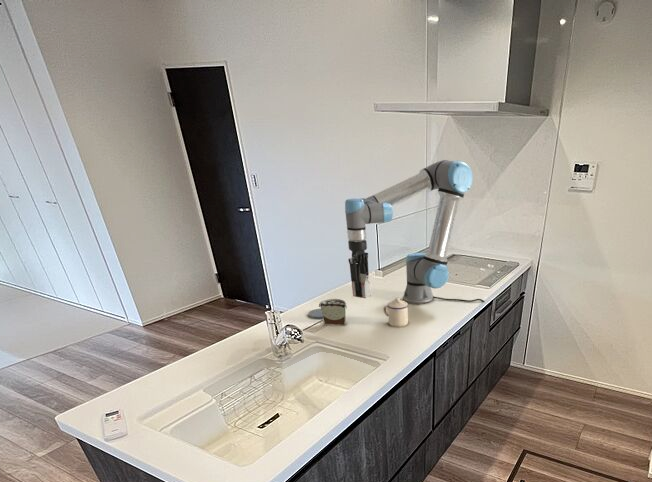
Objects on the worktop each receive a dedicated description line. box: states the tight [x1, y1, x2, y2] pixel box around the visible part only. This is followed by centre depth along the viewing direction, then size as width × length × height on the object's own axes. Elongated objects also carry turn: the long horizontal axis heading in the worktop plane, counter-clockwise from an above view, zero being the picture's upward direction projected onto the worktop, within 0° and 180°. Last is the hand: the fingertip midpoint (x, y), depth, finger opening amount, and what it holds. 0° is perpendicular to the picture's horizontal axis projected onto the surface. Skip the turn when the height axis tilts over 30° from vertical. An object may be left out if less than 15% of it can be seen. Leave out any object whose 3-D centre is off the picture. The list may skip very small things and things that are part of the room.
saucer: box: [308, 308, 323, 320], centre depth 201 cm, size 11×11×1 cm
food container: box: [318, 298, 348, 326], centre depth 191 cm, size 12×6×10 cm, turn 84°
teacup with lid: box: [383, 297, 409, 328], centre depth 191 cm, size 12×9×12 cm
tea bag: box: [351, 274, 371, 299], centre depth 188 cm, size 4×7×10 cm, turn 64°
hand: (361, 294), depth 190 cm, fingers closed on tea bag, 4 cm apart
